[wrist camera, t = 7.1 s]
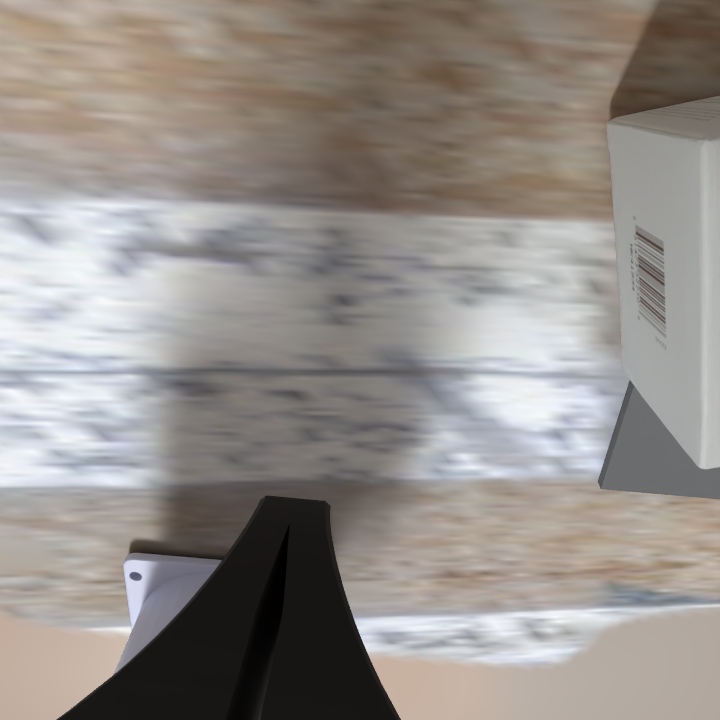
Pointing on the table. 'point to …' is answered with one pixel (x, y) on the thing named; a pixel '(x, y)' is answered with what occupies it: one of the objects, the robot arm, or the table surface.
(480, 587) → the table surface
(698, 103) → the small box
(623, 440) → the mat
